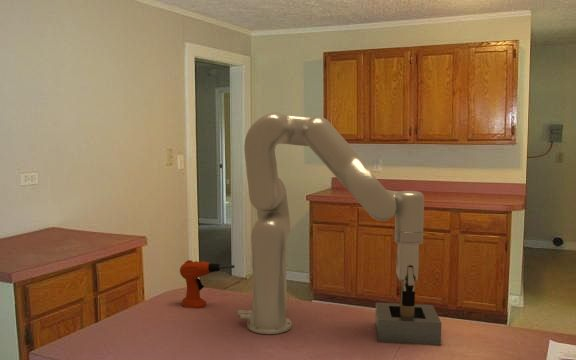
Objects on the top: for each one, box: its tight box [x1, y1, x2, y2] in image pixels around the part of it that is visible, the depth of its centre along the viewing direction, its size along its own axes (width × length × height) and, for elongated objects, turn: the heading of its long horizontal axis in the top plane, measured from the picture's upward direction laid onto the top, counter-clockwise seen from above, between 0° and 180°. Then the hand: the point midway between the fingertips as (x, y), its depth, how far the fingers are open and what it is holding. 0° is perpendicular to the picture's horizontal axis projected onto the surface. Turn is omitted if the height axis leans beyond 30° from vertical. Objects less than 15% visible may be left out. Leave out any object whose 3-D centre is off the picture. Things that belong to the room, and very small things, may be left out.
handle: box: [399, 271, 416, 318], centre depth 139 cm, size 5×6×15 cm
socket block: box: [374, 302, 442, 346], centre depth 139 cm, size 16×14×6 cm
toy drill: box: [179, 259, 235, 309], centre depth 160 cm, size 5×19×15 cm, turn 78°
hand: (407, 302), depth 139 cm, fingers closed on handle, 4 cm apart
